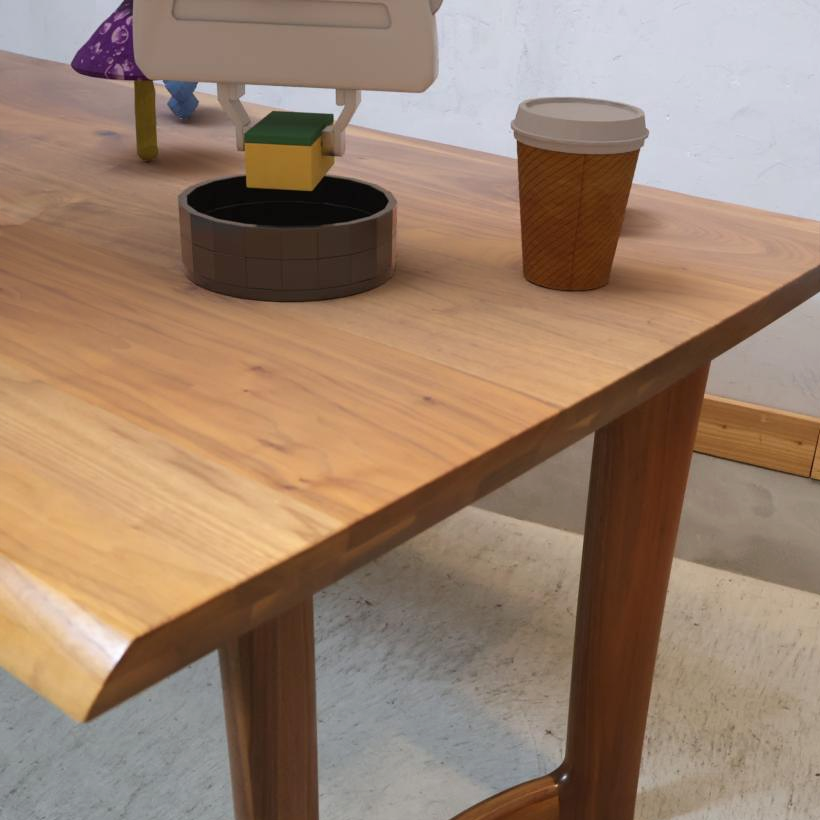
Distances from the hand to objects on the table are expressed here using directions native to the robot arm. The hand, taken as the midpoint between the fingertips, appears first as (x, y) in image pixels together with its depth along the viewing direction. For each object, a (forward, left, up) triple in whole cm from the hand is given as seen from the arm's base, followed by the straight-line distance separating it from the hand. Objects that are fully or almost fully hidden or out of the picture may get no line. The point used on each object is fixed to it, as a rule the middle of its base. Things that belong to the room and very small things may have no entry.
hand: (290, 152), depth 80 cm
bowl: (0, 0, -8) cm, 8 cm away
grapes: (-24, +49, -8) cm, 55 cm away
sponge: (0, 0, -2) cm, 2 cm away
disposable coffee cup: (+20, +2, -8) cm, 22 cm away
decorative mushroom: (-20, +28, -8) cm, 35 cm away
